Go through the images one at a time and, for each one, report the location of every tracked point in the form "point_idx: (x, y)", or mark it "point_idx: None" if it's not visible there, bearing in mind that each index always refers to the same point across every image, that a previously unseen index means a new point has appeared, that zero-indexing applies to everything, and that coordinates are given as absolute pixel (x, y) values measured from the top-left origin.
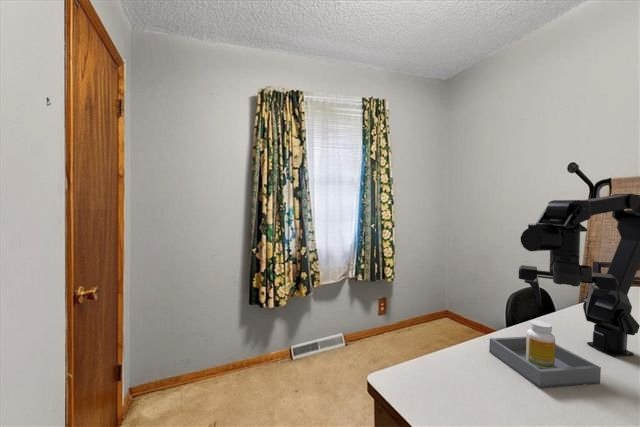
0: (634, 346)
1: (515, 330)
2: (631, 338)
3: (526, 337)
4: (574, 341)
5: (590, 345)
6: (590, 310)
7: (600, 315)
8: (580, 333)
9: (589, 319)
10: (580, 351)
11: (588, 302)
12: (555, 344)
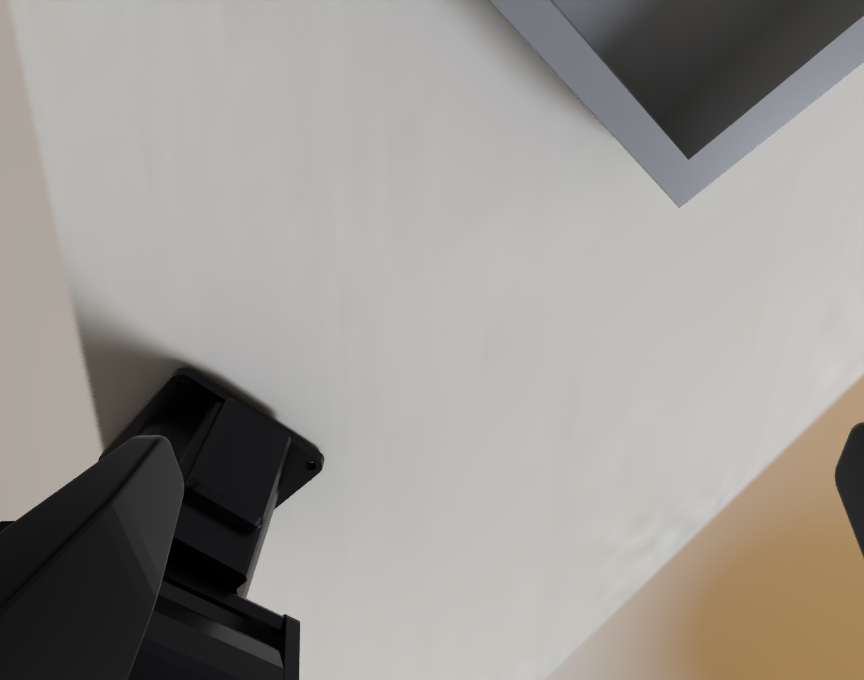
0: None
1: (768, 415)
2: None
3: (857, 35)
4: (391, 459)
5: (305, 443)
6: (68, 487)
7: (145, 636)
8: (362, 582)
9: (277, 632)
10: (356, 321)
11: (22, 655)
12: (555, 49)
